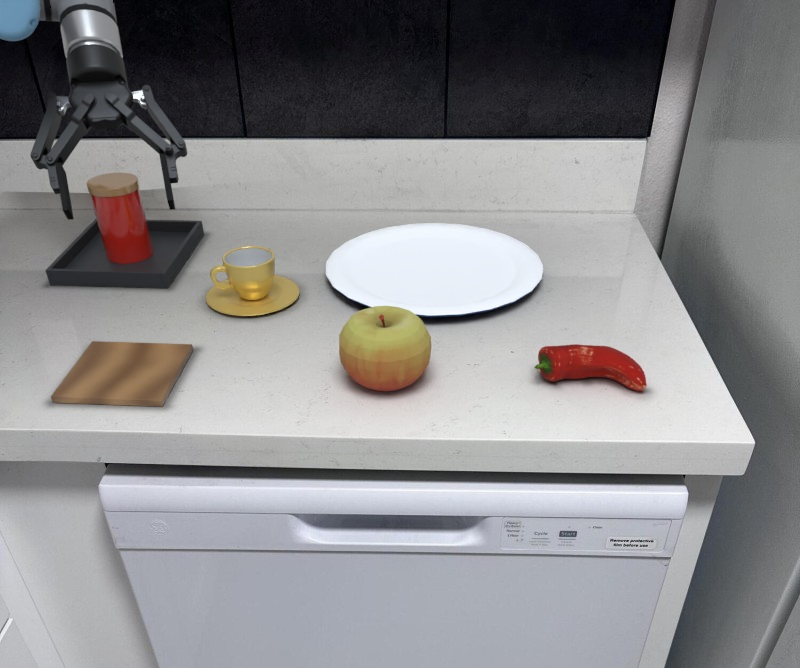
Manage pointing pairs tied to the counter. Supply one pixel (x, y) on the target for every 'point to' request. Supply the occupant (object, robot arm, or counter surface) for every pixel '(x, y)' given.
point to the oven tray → (92, 267)
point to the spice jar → (121, 217)
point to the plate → (434, 269)
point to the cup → (250, 284)
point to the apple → (384, 348)
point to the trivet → (124, 374)
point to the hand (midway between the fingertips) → (120, 210)
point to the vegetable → (590, 364)
